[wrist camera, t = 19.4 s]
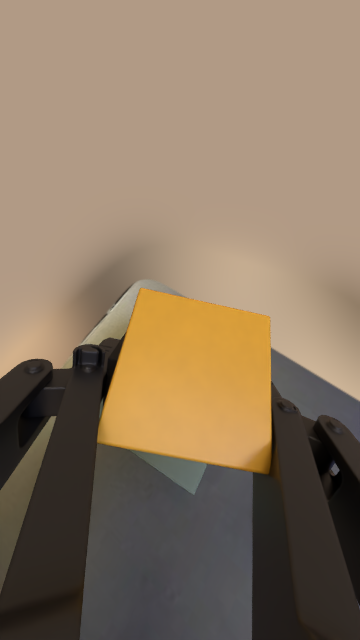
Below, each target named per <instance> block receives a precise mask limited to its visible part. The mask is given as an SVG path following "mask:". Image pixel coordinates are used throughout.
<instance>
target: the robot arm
mask: <svg viewBox="0 0 360 640" xmlns="http://www.w3.org/2000/svg"><path fill="white" fill-rule="evenodd" d="M126 332H127V331H126ZM125 335H126V333H125V334H124V336H123V337H122V339H121V340H118V339H114V338H108V339H105V340H103V341H102V342H101V343H100V345H99V346H98V345H93V344H85V345H81V346H78V347H76V348H75V349H74V351H73V367H72V368H70V369H53V366H52V363H51V362H49V361H48V360H44V359H31V360H27V361H24V362H22V363H20V364H19V365H17V366H16V367H14V368H13V369H12V370H11V371H10V372H8V373H7V374H6V375H5V376H3V377H2V378H1V379H0V490H1V488H2V487H3V486H4V484H5V483H6V481H7V480H8V478H9V477H10V475H11V474H12V473H13V471H14V470H15V468H16V467H17V465H18V464H19V462H20V461H21V459H22V458H23V457H24V455H25V454H26V452H27V451H28V449H29V448H30V446H31V445H32V443H33V442H34V441H35V439H36V438H37V436H38V435H39V433H40V432H41V430H42V429H43V427H44V426H45V425H46V423H47V422H48V420H49V419H50V417H51V416H57V417H56V420H55V424H54V427H53V430H52V433H51V436H50V439H49V442H48V446H47V449H46V452H45V455H44V458H43V461H42V464H41V468H40V471H39V474H38V477H37V480H36V483H35V487H34V490H33V493H32V496H31V499H30V502H29V505H28V509H27V512H26V515H25V518H24V521H23V524H22V527H21V531H20V534H19V537H18V540H17V543H16V546H15V549H14V553H13V556H12V559H11V562H10V565H9V568H8V571H7V575H6V578H5V581H4V584H3V587H2V590H1V593H0V640H79V637H80V626H81V615H82V603H83V589H84V577H85V567H86V556H87V545H88V534H89V523H90V512H91V502H92V491H93V480H94V469H95V458H96V448H97V437H98V426H99V415H100V404H101V401H102V400H103V406H104V403H105V400H106V397H107V393H108V390H109V387H110V384H111V380H112V377H113V374H114V371H115V367H116V364H117V361H118V358H119V354H120V351H121V348H122V345H123V341H124V338H125ZM271 429H272V458H271V465H270V471H269V474H268V475H266V474H260V473H255V472H253V574H252V640H360V609H359V606H358V603H359V605H360V443H359V442H358V440H357V439H356V438H355V437H354V435H353V434H352V433H351V432H350V431H349V429H348V428H347V427H346V426H345V425H343V424H342V423H341V422H340V421H338V420H337V419H335V418H332V417H329V416H326V415H321V416H319V417H318V419H317V421H313V420H311V419H309V418H306V417H304V416H302V415H301V413H300V411H299V409H298V408H297V407H296V406H295V405H294V404H293V403H291V402H290V401H288V400H286V399H284V398H282V397H281V395H280V394H279V392H278V391H277V389H276V387H275V386H274V384H273V383H272V381H271ZM335 463H336V465H337V466H338V468H339V470H340V471H339V472H338V473H337V475H335V474H334V473H333V471H332V470H331V468H332V467H333V465H334V464H335ZM357 601H358V602H357Z"/></svg>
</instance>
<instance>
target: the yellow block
mask: <svg viewBox="0 0 360 640" xmlns="http://www.w3.org/2000/svg"><path fill="white" fill-rule="evenodd" d="M97 443H98V444H104V445H109V446H115V447H120V448H125V449H131V450H136V451H142V452H147V453H152V454H158V455H163V456H169V457H174V458H179V459H185V460H190V461H196V462H201V463H206V464H212V465H217V466H223V467H228V468H233V469H239V470H244V471H250V472H255V473H260V474H266V475H268V474H269V471H270V465H271V458H272V429H271V344H270V317H269V316H266V315H261V314H257V313H252V312H248V311H243V310H238V309H234V308H230V307H225V306H221V305H216V304H212V303H207V302H203V301H198V300H194V299H189V298H185V297H180V296H176V295H171V294H167V293H162V292H158V291H153V290H149V289H144V288H140V290H139V293H138V296H137V299H136V302H135V306H134V309H133V312H132V315H131V319H130V322H129V325H128V328H127V332H126V335H125V338H124V341H123V345H122V348H121V351H120V354H119V358H118V361H117V364H116V367H115V371H114V374H113V377H112V380H111V384H110V387H109V390H108V393H107V397H106V400H105V403H104V406H103V410H102V413H101V416H100V419H99V426H98V437H97Z"/></svg>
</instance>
